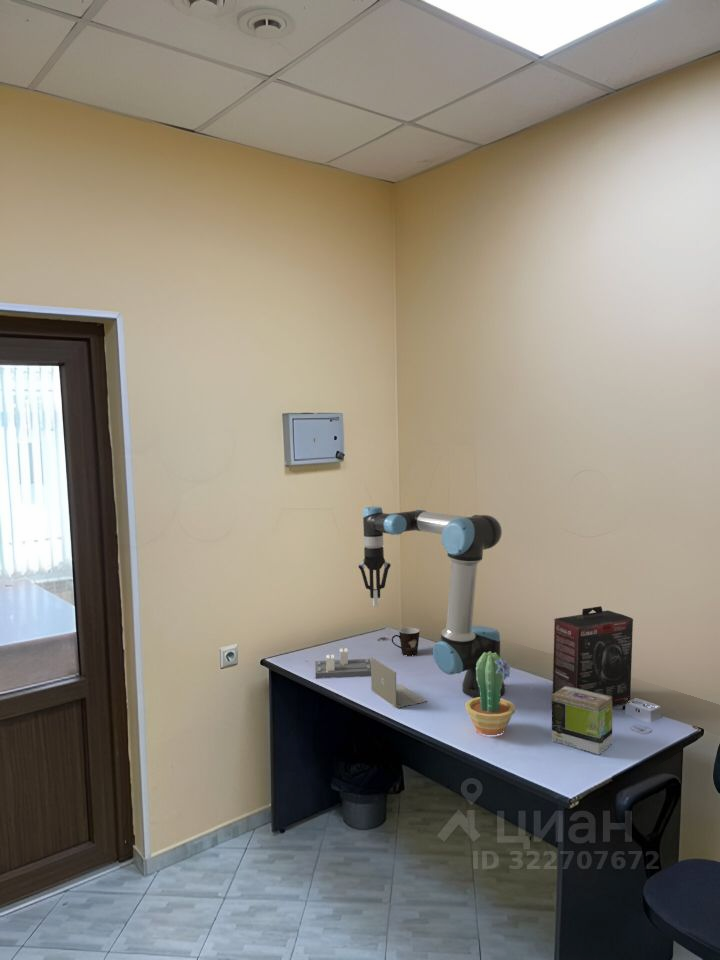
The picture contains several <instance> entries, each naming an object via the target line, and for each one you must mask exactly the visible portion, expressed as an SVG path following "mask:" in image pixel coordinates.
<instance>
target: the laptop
mask: <svg viewBox="0 0 720 960" xmlns="http://www.w3.org/2000/svg"><path fill="white" fill-rule="evenodd" d="M370 661H371V676H370V679H371V681H370V683H371V684H370V687H371V688H370V689H371V692H372V693H373V694H374V695H376V696H377V697H378V698H380V699H381V700H383V701H384V702H386V704H388V703H389V704H388V705H390V706H391V705H392V707H393V706H394V707H395V708H394V707H393V708H394V709H396V708H398V709H401V708H400V707H403V708H405V707H404V706H408V705H411V706H414V705H413V704H415V705H418V704H417V703H419V704H423V703H425V702H427V701H428V700H427V699H425V698H424V697H422V696H420V695H419V694H417V693H416V692H414V691H413V690H411V689H410V688H408V687H406V686H405V685H403V684H401V683H399V684H397V672H396V671H394V670H393V669H391V668H390V667H388V666H387V665H385V664H384V663H382V662H380V661H378V660H377V659H376V658H374V657H370Z"/></svg>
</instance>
